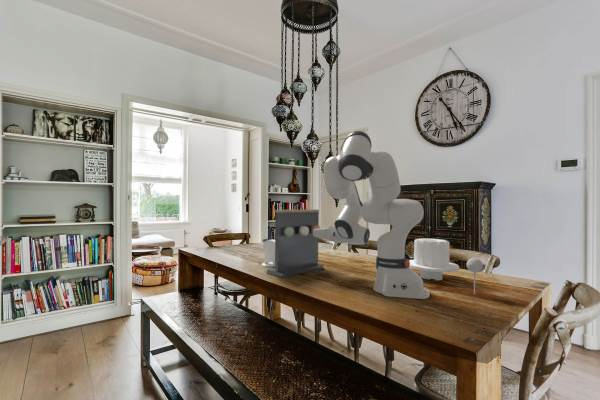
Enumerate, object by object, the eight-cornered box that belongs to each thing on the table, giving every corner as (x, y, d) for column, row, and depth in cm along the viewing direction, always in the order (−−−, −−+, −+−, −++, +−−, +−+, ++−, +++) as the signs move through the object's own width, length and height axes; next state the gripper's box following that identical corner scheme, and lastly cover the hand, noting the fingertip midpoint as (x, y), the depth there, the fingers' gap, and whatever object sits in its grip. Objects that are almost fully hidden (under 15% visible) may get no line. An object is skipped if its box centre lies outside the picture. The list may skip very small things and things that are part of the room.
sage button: (294, 236, 158) (294, 227, 158) (287, 237, 154) (287, 227, 154) (289, 235, 160) (290, 226, 160) (283, 236, 156) (283, 227, 156)
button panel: (323, 268, 174) (324, 209, 175) (283, 277, 151) (283, 210, 151) (307, 264, 182) (308, 209, 183) (267, 273, 159) (267, 209, 159)
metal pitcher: (285, 264, 184) (285, 239, 184) (274, 267, 174) (274, 241, 174) (269, 262, 190) (269, 237, 190) (257, 265, 180) (258, 239, 180)
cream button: (308, 235, 164) (308, 226, 164) (302, 235, 161) (302, 226, 161) (304, 234, 166) (304, 226, 166) (298, 235, 163) (298, 226, 163)
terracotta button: (320, 234, 171) (320, 225, 172) (315, 234, 168) (315, 225, 168) (316, 233, 174) (316, 225, 174) (310, 234, 170) (311, 225, 170)
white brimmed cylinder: (408, 270, 171) (408, 236, 171) (458, 275, 160) (458, 239, 161) (402, 280, 149) (402, 241, 149) (460, 286, 138) (460, 244, 138)
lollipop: (476, 297, 122) (477, 259, 122) (463, 293, 127) (463, 257, 127) (486, 295, 124) (486, 258, 125) (472, 291, 130) (472, 256, 130)
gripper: (350, 227, 160) (329, 226, 169) (327, 227, 145) (305, 225, 154) (350, 239, 160) (328, 237, 169) (326, 240, 145) (304, 238, 154)
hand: (317, 232), depth 161 cm, fingers closed
